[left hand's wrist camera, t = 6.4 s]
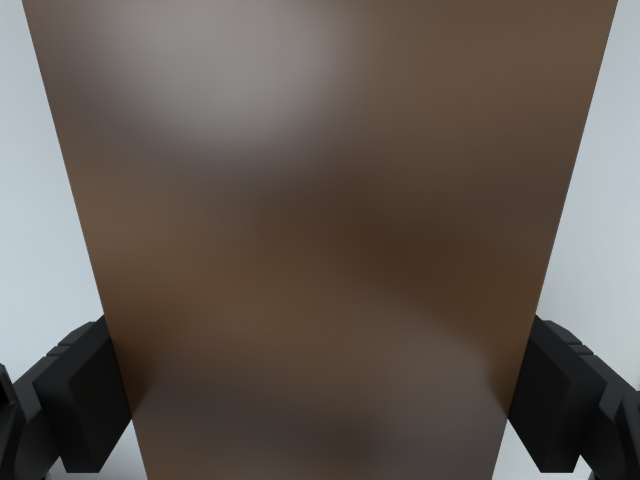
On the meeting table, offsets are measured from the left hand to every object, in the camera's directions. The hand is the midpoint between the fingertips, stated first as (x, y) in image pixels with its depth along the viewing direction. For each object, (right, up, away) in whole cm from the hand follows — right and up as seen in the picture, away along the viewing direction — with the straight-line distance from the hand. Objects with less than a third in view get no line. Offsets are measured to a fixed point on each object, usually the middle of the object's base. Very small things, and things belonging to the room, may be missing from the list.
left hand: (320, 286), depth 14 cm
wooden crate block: (0, +7, +1) cm, 7 cm away
